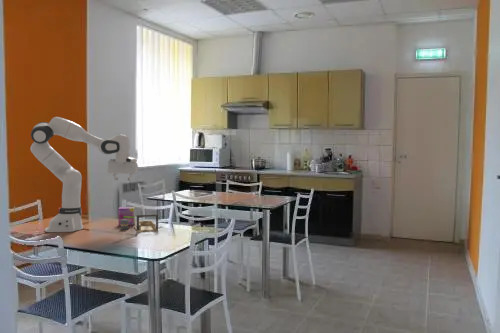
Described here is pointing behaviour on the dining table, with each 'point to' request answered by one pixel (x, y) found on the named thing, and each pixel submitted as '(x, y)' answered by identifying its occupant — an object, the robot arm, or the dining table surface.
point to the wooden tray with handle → (146, 224)
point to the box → (126, 214)
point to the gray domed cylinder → (124, 224)
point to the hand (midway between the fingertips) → (122, 180)
